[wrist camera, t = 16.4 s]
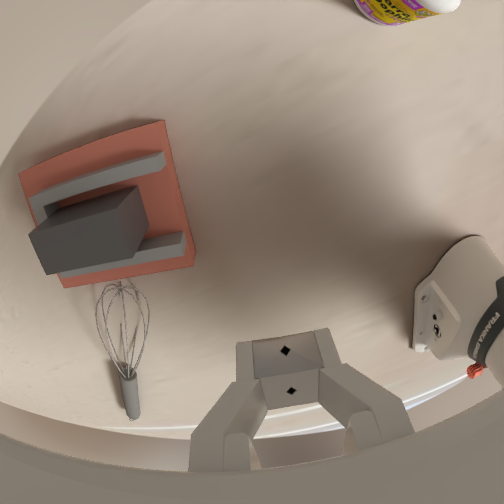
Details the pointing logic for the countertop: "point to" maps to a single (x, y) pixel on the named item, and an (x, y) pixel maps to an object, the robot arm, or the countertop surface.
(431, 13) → the supplement bottle
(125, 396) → the kitchen whisk
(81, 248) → the dark gray eraser
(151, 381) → the countertop surface
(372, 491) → the robot arm
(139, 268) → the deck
